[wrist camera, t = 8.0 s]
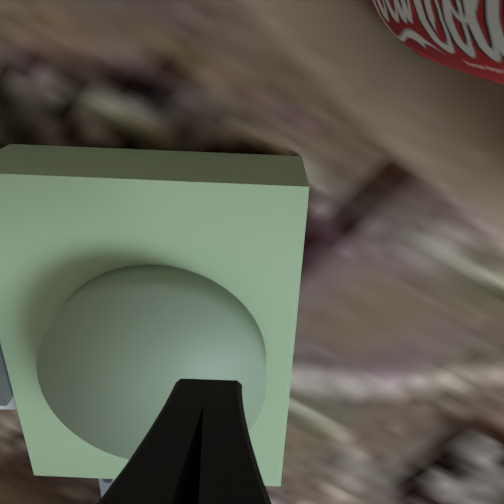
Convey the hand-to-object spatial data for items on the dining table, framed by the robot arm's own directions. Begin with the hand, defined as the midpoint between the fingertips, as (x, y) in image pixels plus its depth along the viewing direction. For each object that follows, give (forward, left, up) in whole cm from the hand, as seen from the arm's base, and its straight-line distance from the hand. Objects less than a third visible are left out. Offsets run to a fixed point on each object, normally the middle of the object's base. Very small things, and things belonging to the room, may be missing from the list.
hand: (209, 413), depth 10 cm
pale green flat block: (-4, +6, -10) cm, 12 cm away
